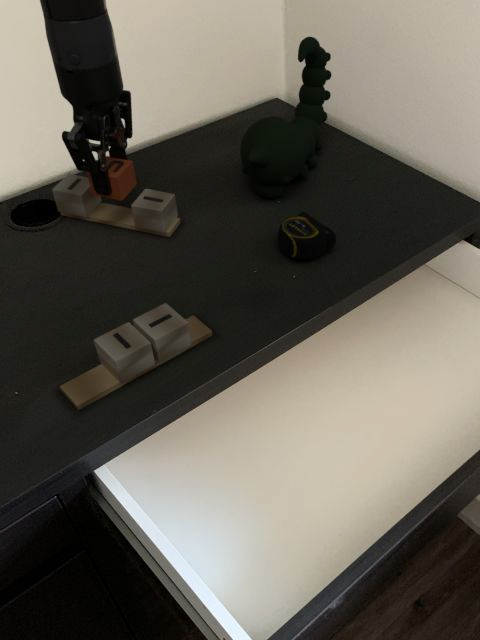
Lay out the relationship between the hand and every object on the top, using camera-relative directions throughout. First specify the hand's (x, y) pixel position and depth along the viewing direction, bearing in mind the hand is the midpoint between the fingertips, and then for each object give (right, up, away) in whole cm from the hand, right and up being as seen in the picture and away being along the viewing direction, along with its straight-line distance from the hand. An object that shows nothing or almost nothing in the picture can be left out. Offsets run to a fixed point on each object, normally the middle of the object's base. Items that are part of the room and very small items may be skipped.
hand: (113, 183), depth 91 cm
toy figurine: (+24, +5, +13) cm, 28 cm away
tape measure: (+26, -9, +1) cm, 28 cm away
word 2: (+7, -25, -14) cm, 30 cm away
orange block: (0, -1, +1) cm, 1 cm away
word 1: (0, -4, +4) cm, 6 cm away
